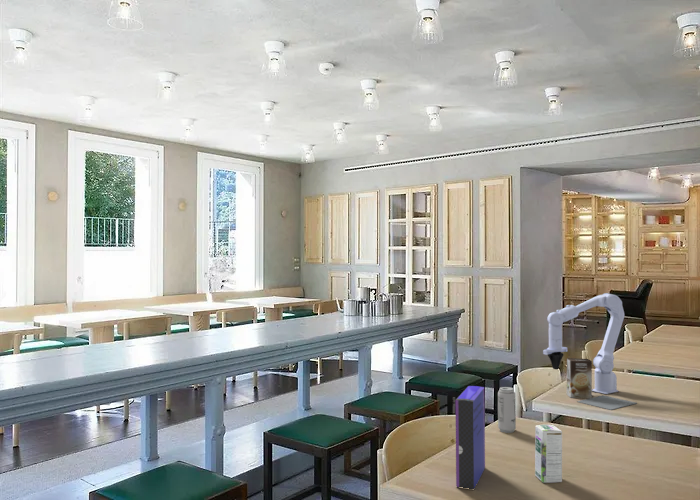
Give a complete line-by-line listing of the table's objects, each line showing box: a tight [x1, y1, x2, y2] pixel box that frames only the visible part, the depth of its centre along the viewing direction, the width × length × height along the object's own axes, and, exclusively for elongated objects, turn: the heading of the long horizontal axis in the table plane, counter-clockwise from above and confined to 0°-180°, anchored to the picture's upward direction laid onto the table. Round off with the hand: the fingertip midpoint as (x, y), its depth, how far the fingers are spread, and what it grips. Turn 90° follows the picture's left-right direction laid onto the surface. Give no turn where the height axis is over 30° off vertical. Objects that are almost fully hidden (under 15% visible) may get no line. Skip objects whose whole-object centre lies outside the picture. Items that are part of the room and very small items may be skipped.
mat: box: [576, 394, 638, 411], centre depth 246 cm, size 18×16×1 cm
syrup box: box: [534, 424, 563, 484], centre depth 165 cm, size 6×6×14 cm
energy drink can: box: [497, 386, 517, 434], centre depth 209 cm, size 6×6×15 cm
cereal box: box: [455, 385, 486, 490], centre depth 167 cm, size 17×5×24 cm, turn 157°
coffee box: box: [566, 357, 593, 399], centre depth 257 cm, size 9×6×16 cm
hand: (555, 368), depth 267 cm, fingers closed
